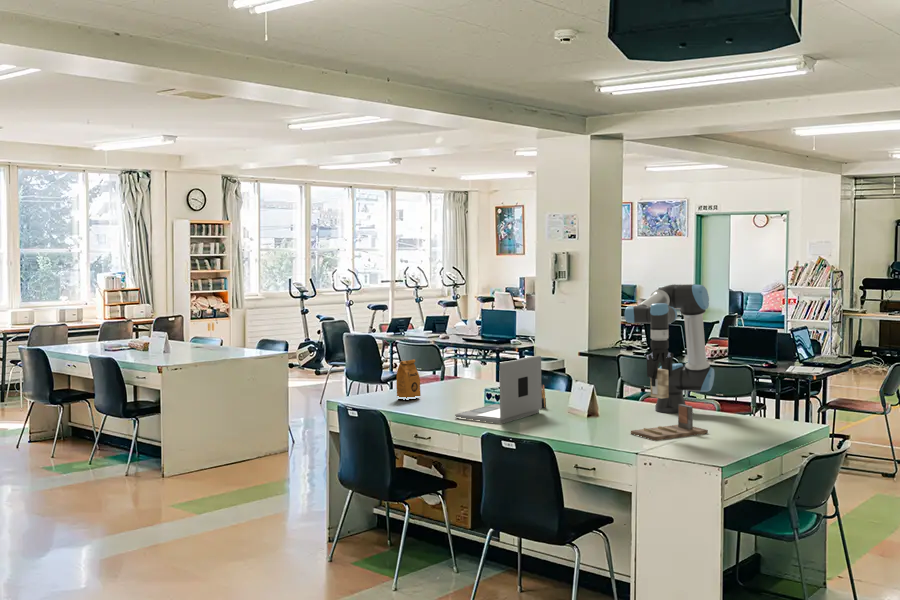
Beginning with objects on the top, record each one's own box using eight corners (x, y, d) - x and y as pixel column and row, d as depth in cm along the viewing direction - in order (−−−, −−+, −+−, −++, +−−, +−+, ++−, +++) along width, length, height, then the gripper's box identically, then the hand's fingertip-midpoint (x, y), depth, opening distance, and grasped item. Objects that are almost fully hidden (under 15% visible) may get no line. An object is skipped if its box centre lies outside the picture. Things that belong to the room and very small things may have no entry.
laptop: (495, 408, 462) (494, 352, 461) (542, 413, 445) (541, 355, 444) (454, 419, 433) (453, 360, 432) (503, 425, 417) (502, 363, 415)
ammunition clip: (546, 407, 460) (545, 384, 460) (543, 408, 459) (543, 384, 458) (530, 405, 468) (530, 382, 467) (528, 405, 467) (527, 383, 466)
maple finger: (658, 395, 390) (658, 368, 389) (669, 397, 384) (669, 369, 383) (650, 396, 388) (650, 368, 388) (661, 398, 382) (660, 370, 381)
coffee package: (423, 399, 494) (422, 359, 493) (406, 402, 485) (405, 361, 484) (411, 397, 501) (410, 358, 500) (394, 400, 492) (393, 360, 491)
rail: (682, 427, 403) (682, 401, 402) (707, 433, 388) (707, 407, 388) (630, 434, 390) (630, 407, 389) (654, 440, 375) (654, 413, 375)
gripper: (648, 341, 377) (649, 396, 379) (681, 338, 385) (681, 392, 386) (637, 339, 384) (638, 393, 385) (669, 337, 392) (670, 390, 393)
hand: (659, 393), depth 386 cm, fingers closed on maple finger, 4 cm apart
